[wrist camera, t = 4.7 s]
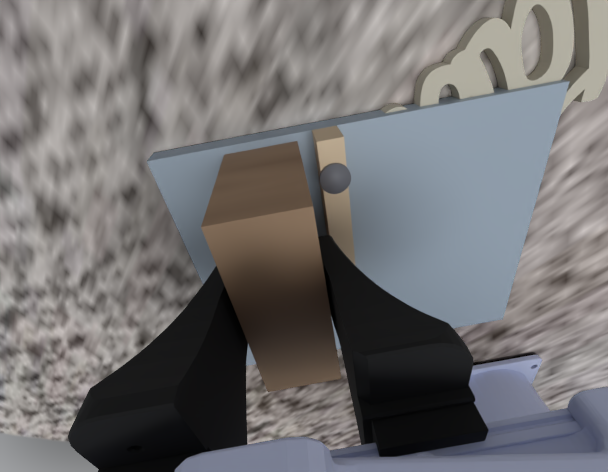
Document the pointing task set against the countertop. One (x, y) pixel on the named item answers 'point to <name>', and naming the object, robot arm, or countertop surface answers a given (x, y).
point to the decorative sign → (508, 55)
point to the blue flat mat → (405, 194)
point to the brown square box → (273, 264)
